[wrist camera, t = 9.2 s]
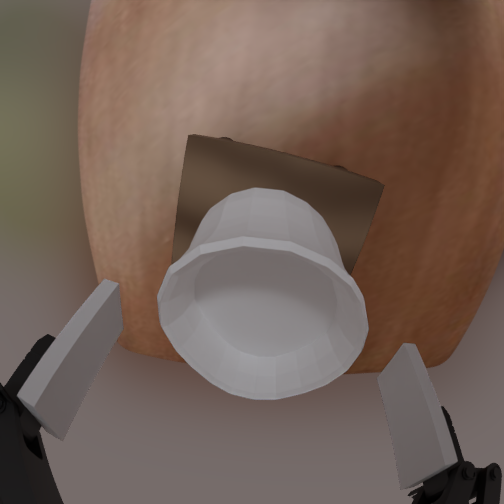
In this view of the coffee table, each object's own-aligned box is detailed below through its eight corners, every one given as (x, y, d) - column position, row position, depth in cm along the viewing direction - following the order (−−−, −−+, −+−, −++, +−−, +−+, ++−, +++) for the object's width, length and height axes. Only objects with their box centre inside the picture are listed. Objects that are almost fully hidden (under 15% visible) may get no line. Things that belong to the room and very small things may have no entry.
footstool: (211, 131, 24) (188, 135, 17) (355, 167, 24) (384, 185, 18) (190, 261, 30) (169, 301, 23) (313, 288, 31) (322, 334, 24)
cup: (294, 317, 23) (299, 416, 14) (184, 270, 22) (137, 360, 13) (357, 224, 19) (412, 305, 10) (231, 160, 18) (189, 198, 9)
